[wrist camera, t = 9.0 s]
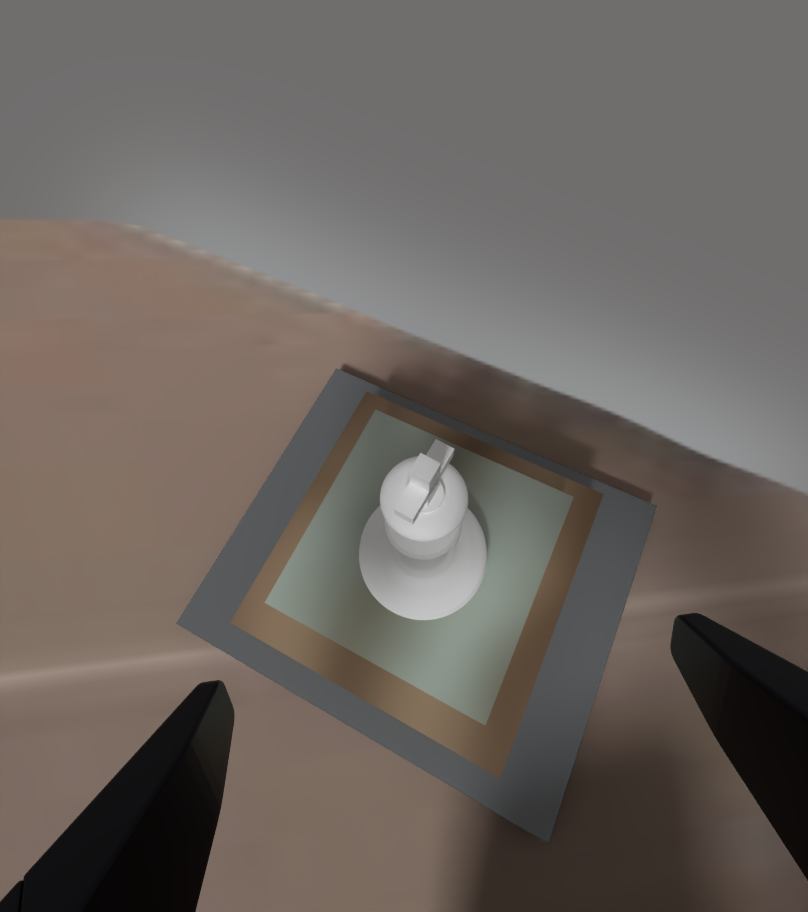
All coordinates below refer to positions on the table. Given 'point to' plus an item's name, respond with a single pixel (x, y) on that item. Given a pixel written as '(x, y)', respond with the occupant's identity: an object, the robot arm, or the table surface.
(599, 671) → the baseplate
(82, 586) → the table surface
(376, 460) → the stacked blocks
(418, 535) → the chess piece
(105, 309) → the table surface
